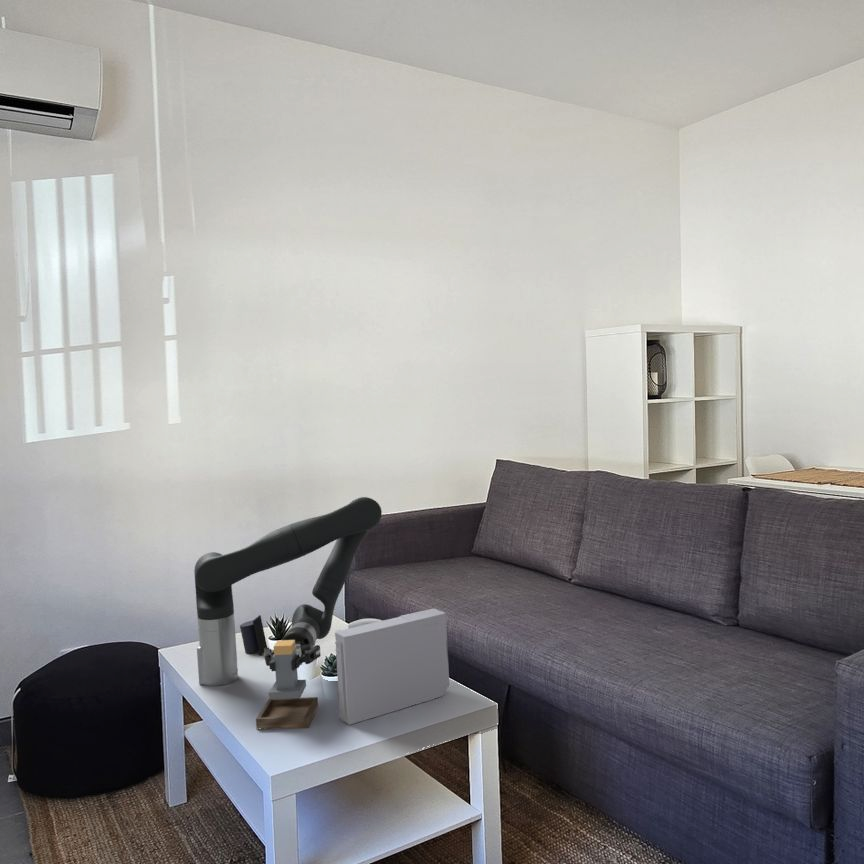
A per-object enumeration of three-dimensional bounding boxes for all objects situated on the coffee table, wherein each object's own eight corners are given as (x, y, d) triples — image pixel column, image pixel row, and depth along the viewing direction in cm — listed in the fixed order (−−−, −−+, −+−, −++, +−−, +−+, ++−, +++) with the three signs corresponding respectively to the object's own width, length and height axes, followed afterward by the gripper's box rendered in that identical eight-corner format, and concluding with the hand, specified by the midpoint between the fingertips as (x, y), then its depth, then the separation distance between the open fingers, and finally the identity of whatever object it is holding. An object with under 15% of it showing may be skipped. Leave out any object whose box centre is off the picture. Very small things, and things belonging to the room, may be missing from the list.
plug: (269, 699, 177) (265, 648, 176) (276, 687, 184) (272, 638, 183) (299, 697, 177) (296, 647, 176) (306, 685, 184) (302, 637, 183)
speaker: (274, 648, 230) (267, 614, 230) (260, 656, 225) (254, 620, 225) (254, 648, 234) (248, 614, 234) (241, 655, 229) (234, 620, 229)
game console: (336, 717, 179) (331, 631, 178) (436, 687, 194) (432, 608, 193) (348, 725, 175) (343, 637, 174) (449, 694, 189) (445, 612, 188)
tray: (256, 729, 175) (255, 719, 175) (269, 708, 187) (268, 698, 186) (308, 727, 174) (307, 717, 174) (318, 706, 186) (317, 697, 186)
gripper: (269, 627, 194) (250, 651, 177) (326, 625, 194) (313, 648, 177) (271, 657, 195) (252, 684, 178) (328, 655, 194) (315, 681, 177)
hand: (283, 666), depth 177 cm, fingers closed on plug, 4 cm apart
